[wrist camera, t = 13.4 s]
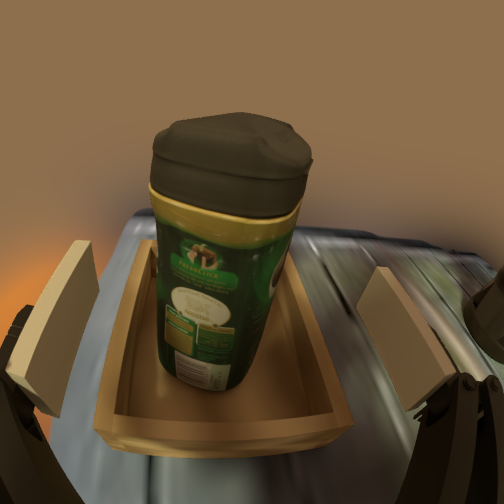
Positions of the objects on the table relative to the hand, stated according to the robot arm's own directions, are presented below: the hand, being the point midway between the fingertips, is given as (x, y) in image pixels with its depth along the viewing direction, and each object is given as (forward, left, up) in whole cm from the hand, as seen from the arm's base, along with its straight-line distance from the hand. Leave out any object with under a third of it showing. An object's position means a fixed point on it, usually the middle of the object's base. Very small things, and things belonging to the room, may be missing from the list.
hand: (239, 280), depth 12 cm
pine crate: (0, -6, -13) cm, 14 cm away
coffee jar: (0, -6, -12) cm, 14 cm away
